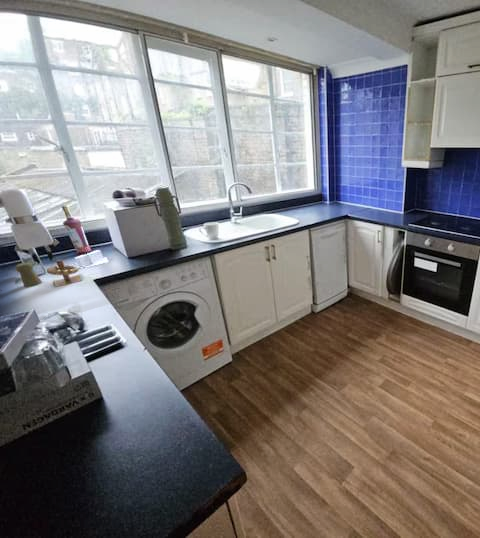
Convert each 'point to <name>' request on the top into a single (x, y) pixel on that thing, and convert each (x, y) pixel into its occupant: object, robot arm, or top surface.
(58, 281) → the stand
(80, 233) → the liquor
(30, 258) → the syrup box
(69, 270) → the brass hoop
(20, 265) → the cork
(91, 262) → the napkin holder
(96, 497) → the top surface
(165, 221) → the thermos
